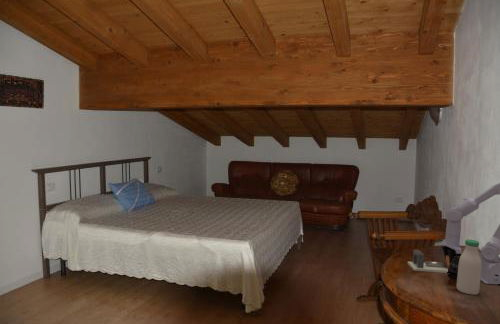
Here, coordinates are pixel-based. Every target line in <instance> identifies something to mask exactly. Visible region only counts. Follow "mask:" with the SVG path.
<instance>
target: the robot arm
mask: <svg viewBox="0 0 500 324" xmlns="http://www.w3.org/2000/svg"><path fill="white" fill-rule="evenodd" d="M496 195H498V196H499V195H500V182H499V183H497V184H494V185H493V186H491V187H489V188H488V189H486V190H485V191H483V192H482V193H480V194H477V196H476V197H468V198H467V197H465V198H463V199H462V200H463V201H461V202H459V203H458V204H454V205H453V207H452V208H449V209H448V210H447V211H446V213H445V216H446V219H447V220H446V225H445V226H446V228H445V236H444V237H445V239H443V240H442V243H441V249H442V251H443V256H444V261H446V255H449V264H450V263H451V261H452V259H453V258H454V256H456V255H457V256H461V255H462V253H463V250H462V249H463V248H461V245H460V243H461V232H462V220H463V218H464V217H467V216H469V215H470V214H472V213H474V212H475V211H476V210H478V209H479V208H480V204H482V203H483V202H485V201H487V200H488V199H491V198H492V197H494V196H496ZM480 259H481V278H480V282H481V281H482V282H483V283H484V284H486V285H498V284H500V224H499V225H498V226H497V228H496V230H495V231H494V233H493V235H492V237H491V238H490V240H489V241H487V242H486V244H485V245H483V247H481V249H480Z"/></svg>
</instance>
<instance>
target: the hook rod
mask: <svg viewBox="0 0 500 324" xmlns="http://www.w3.org/2000/svg"><path fill="white" fill-rule="evenodd" d="M444 261H445V260H444ZM424 263H425V265H427V266H442V267H447V268H449V265H450V264H449V255H446V261H445V262H443V261H442V262H441V261H429V260H428V261H425V260H424Z"/></svg>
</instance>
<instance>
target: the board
mask: <svg viewBox="0 0 500 324" xmlns="http://www.w3.org/2000/svg"><path fill="white" fill-rule="evenodd" d="M407 265H408V266H409V267H410V268H411V269H412V270H413V271H415V272H425V273H426V272H427V273H429V272H430V273H439V274H440V273H441V274H442V273H444V274H448V273H447V272H448V268H447V267H442V266H427V265H425V262H424V266H423V268H417V267H416V266H417V264H413V261H407Z"/></svg>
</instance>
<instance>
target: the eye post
mask: <svg viewBox="0 0 500 324" xmlns="http://www.w3.org/2000/svg"><path fill="white" fill-rule="evenodd" d="M412 262H413V264H417V266H416V267H417V268H423V266H424V263H425V253H423V252H422V251H421V250H420V249H413V252H412Z"/></svg>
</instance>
